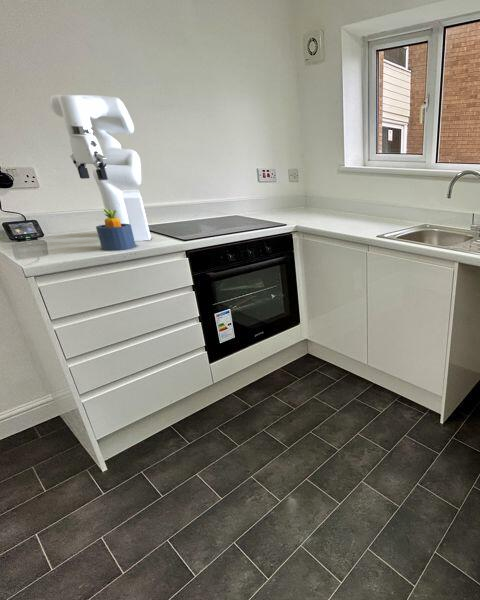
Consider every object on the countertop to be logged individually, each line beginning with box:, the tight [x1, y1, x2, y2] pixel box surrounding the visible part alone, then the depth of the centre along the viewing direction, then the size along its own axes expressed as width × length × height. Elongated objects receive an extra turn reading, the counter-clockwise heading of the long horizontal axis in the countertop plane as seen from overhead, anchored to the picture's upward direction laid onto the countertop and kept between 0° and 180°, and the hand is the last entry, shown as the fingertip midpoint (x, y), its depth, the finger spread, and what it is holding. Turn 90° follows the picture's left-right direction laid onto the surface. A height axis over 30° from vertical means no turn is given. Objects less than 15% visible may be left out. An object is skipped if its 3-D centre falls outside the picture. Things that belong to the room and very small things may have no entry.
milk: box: [122, 189, 152, 242], centre depth 157 cm, size 6×6×22 cm
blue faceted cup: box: [95, 224, 137, 252], centre depth 144 cm, size 11×11×9 cm
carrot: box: [103, 208, 121, 228], centre depth 143 cm, size 5×5×15 cm
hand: (94, 179), depth 140 cm, fingers open, 9 cm apart
